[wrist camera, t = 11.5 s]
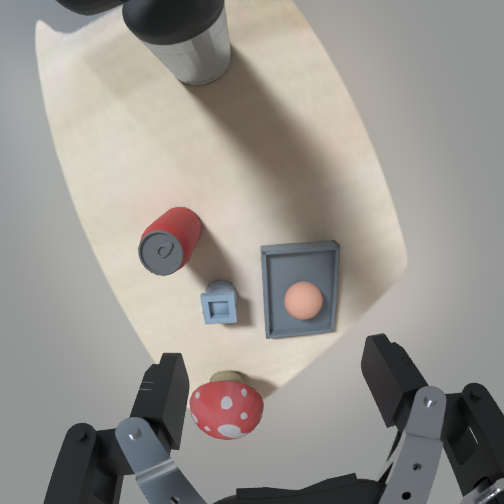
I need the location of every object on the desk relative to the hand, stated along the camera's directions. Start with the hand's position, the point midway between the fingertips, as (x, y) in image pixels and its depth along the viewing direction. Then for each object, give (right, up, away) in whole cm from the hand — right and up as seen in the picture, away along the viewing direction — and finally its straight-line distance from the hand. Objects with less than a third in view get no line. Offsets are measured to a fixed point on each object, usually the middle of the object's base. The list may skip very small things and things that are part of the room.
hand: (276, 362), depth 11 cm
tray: (+7, -1, +36) cm, 36 cm away
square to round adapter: (-6, -2, +35) cm, 36 cm away
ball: (+7, -2, +35) cm, 35 cm away
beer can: (-12, +9, +32) cm, 35 cm away
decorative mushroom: (-6, -20, +42) cm, 47 cm away
